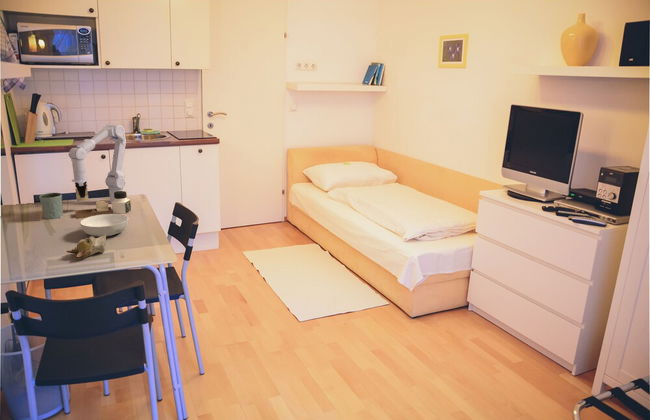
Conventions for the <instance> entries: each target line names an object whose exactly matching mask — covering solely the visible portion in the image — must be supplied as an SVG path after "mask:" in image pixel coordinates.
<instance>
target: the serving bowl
mask: <svg viewBox="0 0 650 420" xmlns="http://www.w3.org/2000/svg"><path fill="white" fill-rule="evenodd" d="M129 219H130V218H129V217H128V216H127V215H125V214H114V213H112V214H103V215H96V216H91V217H88V218H82V219H81V220H80V222H79V225H80V228H81V230H82V231H83V232H84V233H86V234H87V235H88V236H93V237H98V238H99V237H101V236H103V235H106V237H111V236H114V235H117V234H120V233H121V232H123V231H125V229H126V228H127V227H128V224H129Z"/></svg>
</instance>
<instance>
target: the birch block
mask: <svg viewBox="0 0 650 420" xmlns="http://www.w3.org/2000/svg"><path fill="white" fill-rule="evenodd" d="M74 190H75V195H76V196H75V197H76V202H83V201H89V193H88V187H86V191H85V198H80V195H79V192H78V190H77V188H76V187H75V189H74Z"/></svg>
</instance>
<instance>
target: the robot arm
mask: <svg viewBox="0 0 650 420" xmlns="http://www.w3.org/2000/svg"><path fill="white" fill-rule="evenodd" d="M107 137H109V138H111V139H112V141H113V142H114V147H113V149H114V150H113V155H112V162H111V169H110V171H109V172H108V173H107V176H106V178H105V182H104V183H105V185H106V186H107V188H108V191H109V192H108V193H109V201H108V204H112V202H113V201H114V200H115V198H114V192H116V191H124V187H125V186H126V181H125V180H126V179H125V178H126V177H125V174H124V173H123V166H124V161H125V159H124V157H125V153H126V145H127V139H126V129H125V128H124V126H123V125H121V124H118V125H117V124H111V123H107V124H106V125H105V126H103V127H102V128H101V130H99V131H98V132H97V133H96V134H95V135H94V136H93V137H91V138H86V139H83V140H82V142H81V143H79V144H77V145H76V147H72V148H70V149H69V151H68V157H69V158H70V161H71V163H72V170H73V171H72V172H73V179H72V180H71V182H74V184H75V186H74V187H75V188H77V190H78V192H79V195H80V198H85V191H86V188H88V183H87V182H88V179H87V174H86V173H87V172H86V164H85V159H86V157H87V155H88V153H90V152H91V151H93V150H94V149H95V148H96V144H98V143H99V142H101V141H102V140H104V139H106V138H107Z"/></svg>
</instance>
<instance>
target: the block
mask: <svg viewBox="0 0 650 420" xmlns="http://www.w3.org/2000/svg"><path fill="white" fill-rule="evenodd" d="M95 206H96V208H97V212H98V211H107V210H109V209H108V207H109V201H108V200H102V201H101V200H100V201H99V200H98V201H95ZM96 208H95V209H96Z"/></svg>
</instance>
